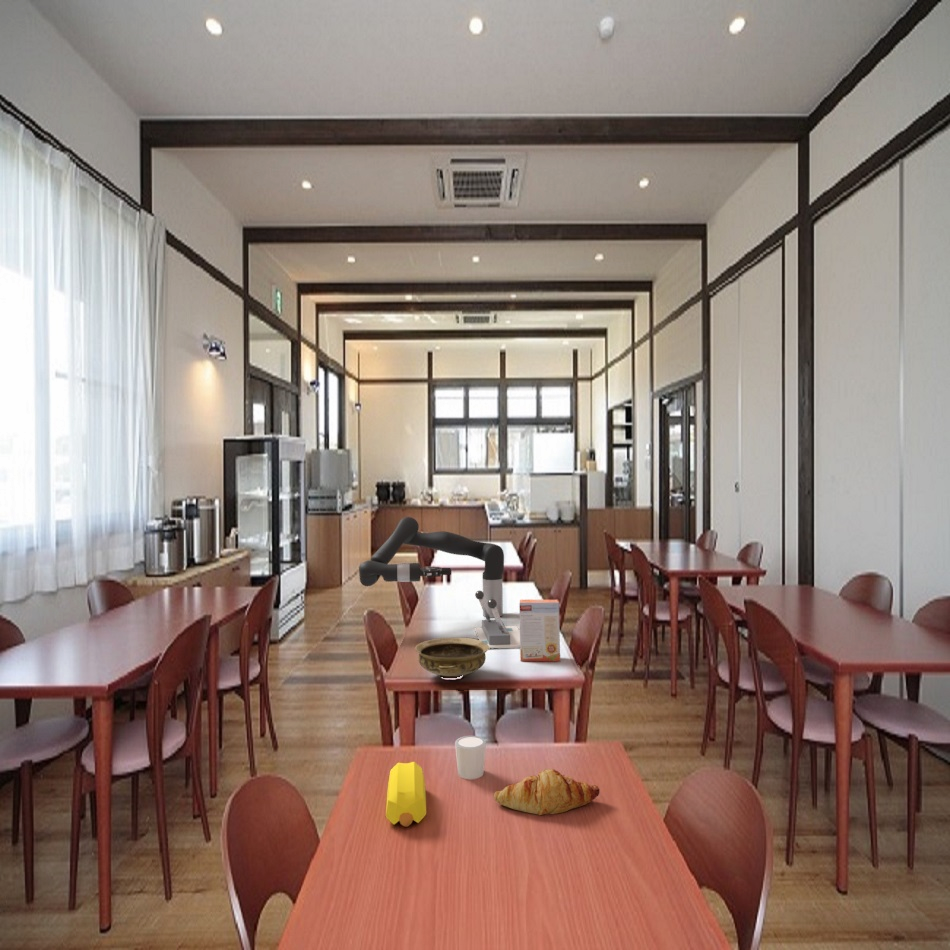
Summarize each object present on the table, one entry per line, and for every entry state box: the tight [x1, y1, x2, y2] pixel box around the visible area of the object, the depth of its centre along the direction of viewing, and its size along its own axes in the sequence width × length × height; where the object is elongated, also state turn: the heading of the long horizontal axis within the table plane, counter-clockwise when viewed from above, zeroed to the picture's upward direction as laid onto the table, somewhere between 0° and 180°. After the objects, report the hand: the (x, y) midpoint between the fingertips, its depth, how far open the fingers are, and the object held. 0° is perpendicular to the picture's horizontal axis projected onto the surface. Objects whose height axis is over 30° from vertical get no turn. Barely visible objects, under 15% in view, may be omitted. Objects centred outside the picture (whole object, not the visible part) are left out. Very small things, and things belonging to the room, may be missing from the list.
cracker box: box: [519, 599, 561, 662], centre depth 222 cm, size 14×6×21 cm, turn 84°
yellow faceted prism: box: [385, 761, 427, 827], centre depth 125 cm, size 18×7×8 cm
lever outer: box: [488, 599, 505, 633], centre depth 242 cm, size 4×4×13 cm
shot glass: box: [454, 735, 487, 780], centre depth 139 cm, size 7×7×7 cm
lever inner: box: [474, 590, 492, 622], centre depth 260 cm, size 4×4×13 cm
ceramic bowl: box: [414, 637, 490, 678], centre depth 204 cm, size 30×24×10 cm
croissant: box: [493, 768, 600, 816], centre depth 125 cm, size 21×10×8 cm, turn 93°
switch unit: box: [474, 619, 520, 650], centre depth 251 cm, size 30×18×4 cm, turn 6°
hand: (450, 571), depth 258 cm, fingers open, 3 cm apart
